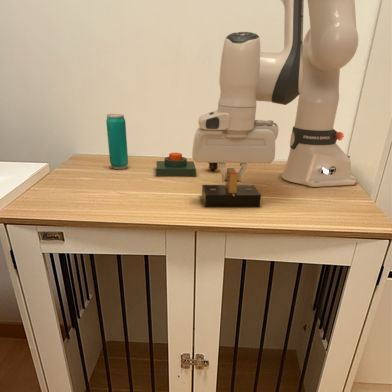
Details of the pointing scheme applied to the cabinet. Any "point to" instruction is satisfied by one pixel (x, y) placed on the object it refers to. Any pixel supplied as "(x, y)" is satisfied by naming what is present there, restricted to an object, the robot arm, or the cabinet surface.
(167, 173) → the button block
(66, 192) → the cabinet surface
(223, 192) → the panel
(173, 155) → the button
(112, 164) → the beverage can
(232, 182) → the tan rectangular block
